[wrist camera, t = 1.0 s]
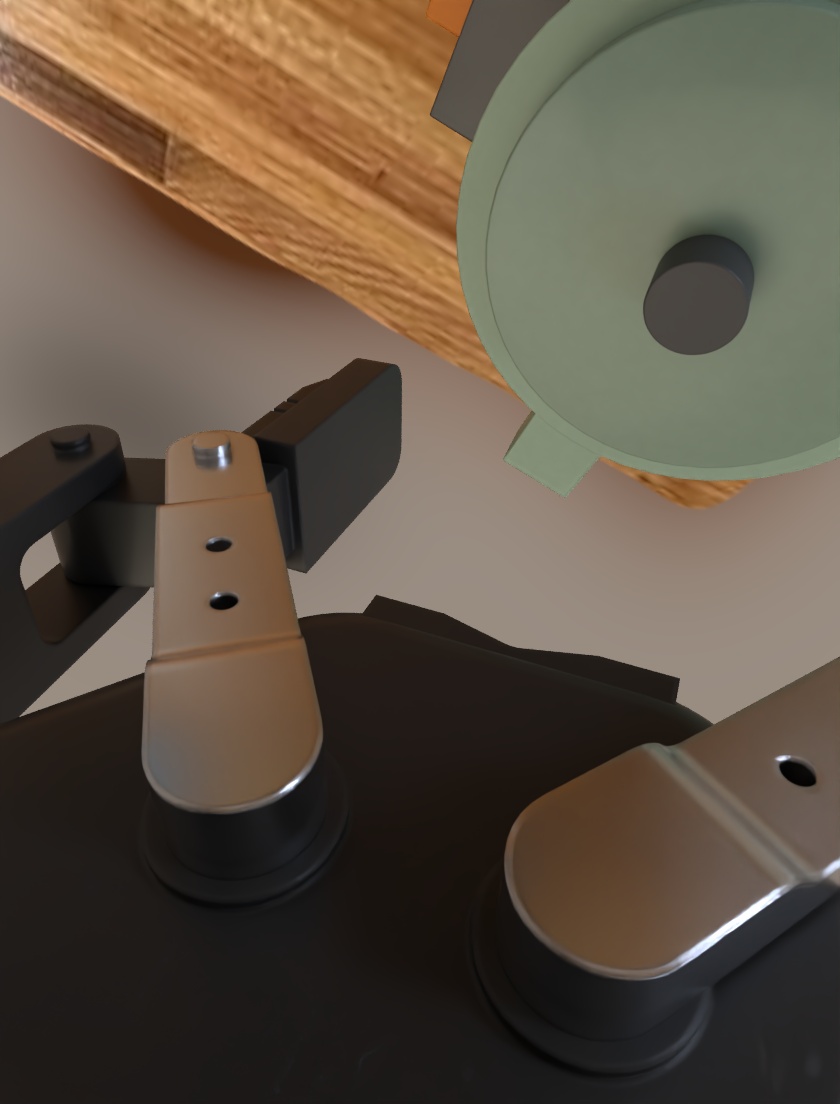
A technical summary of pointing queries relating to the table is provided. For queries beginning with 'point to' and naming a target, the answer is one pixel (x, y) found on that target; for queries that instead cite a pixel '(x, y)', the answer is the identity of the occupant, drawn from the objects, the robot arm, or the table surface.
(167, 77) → the table surface
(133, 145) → the table surface
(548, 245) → the kettle
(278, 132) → the table surface
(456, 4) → the switch
